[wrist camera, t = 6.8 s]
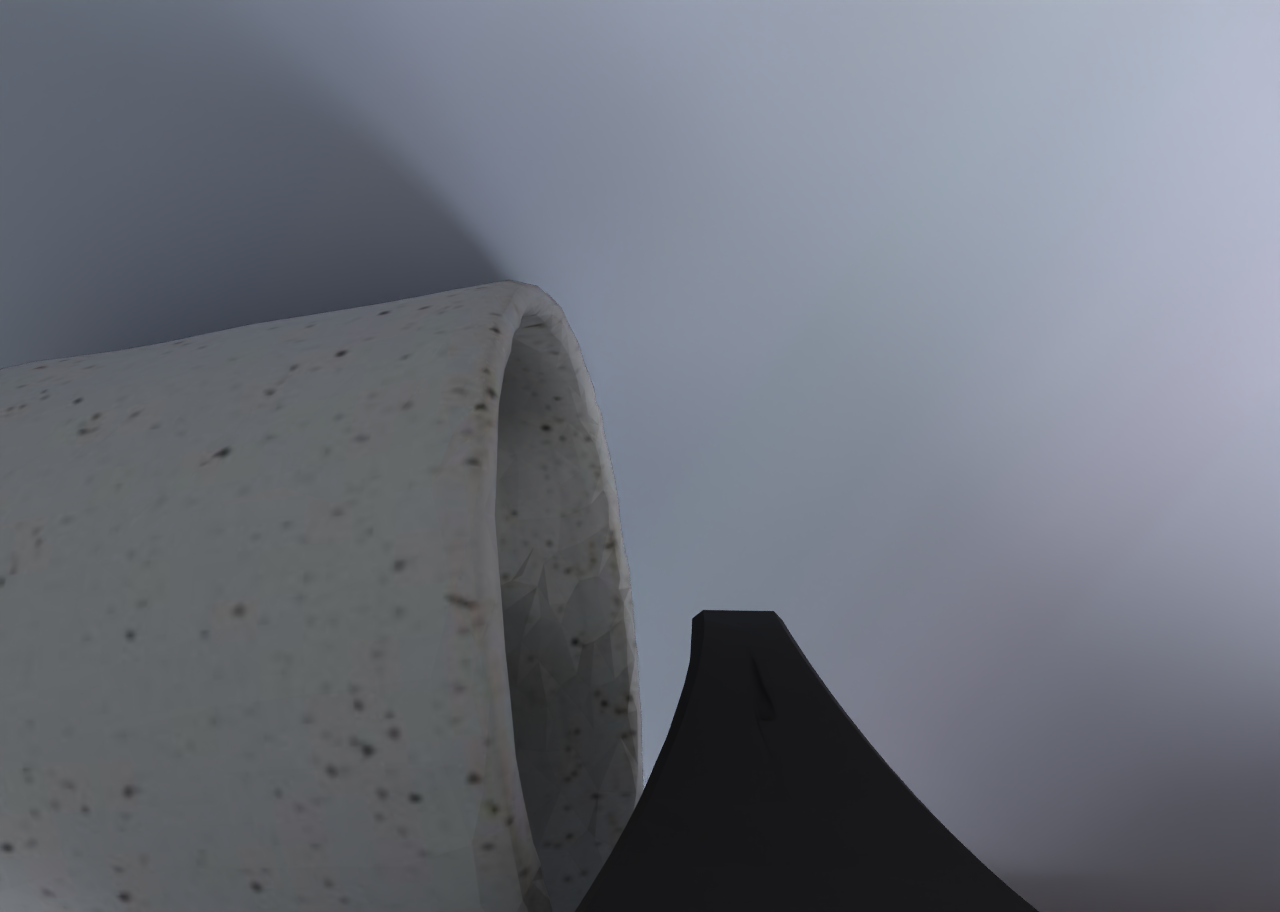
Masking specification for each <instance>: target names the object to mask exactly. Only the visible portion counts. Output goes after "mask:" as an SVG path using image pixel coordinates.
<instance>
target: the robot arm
mask: <svg viewBox="0 0 1280 912" xmlns="http://www.w3.org/2000/svg"><path fill="white" fill-rule="evenodd" d="M575 912H1039V911H1037V910H1036V909H1035V908H1034V907H1032V906H1031V905H1030V904H1029V903H1028V902H1026V901H1025V900H1024V899H1023V898H1021V897H1020V896H1019V895H1018V894H1017V893H1015V892H1014V891H1013V890H1012V889H1011V888H1010V887H1008V886H1007V885H1006V884H1005V883H1004V882H1003V881H1002V880H1001V879H999V878H998V877H997V876H996V875H995V874H994V873H993V872H991V871H990V870H989V869H988V868H987V867H986V866H985V865H984V864H983V863H982V862H981V861H980V860H979V859H978V858H976V857H975V856H974V855H973V854H972V853H971V852H970V851H969V850H968V849H967V848H966V847H965V846H964V845H963V844H962V843H961V842H960V841H959V840H958V839H957V838H956V837H955V836H954V835H953V834H952V833H951V832H950V831H949V830H948V829H947V828H946V827H945V826H944V825H943V824H942V823H941V822H940V821H939V820H938V819H937V818H936V817H935V816H934V815H933V814H932V813H931V812H930V811H929V810H928V809H927V808H926V806H925V805H924V804H923V803H922V802H921V801H920V800H919V799H918V798H917V797H916V796H915V795H914V794H913V792H912V791H911V790H910V789H909V788H908V787H907V786H906V785H905V783H904V782H903V781H902V780H901V779H900V778H899V777H898V776H897V774H896V773H895V772H894V771H893V770H892V769H891V768H890V767H889V765H888V764H887V763H886V762H885V761H884V759H883V758H882V757H881V756H880V755H879V753H878V752H877V751H876V750H875V749H874V747H873V746H872V745H871V744H870V743H869V741H868V740H867V739H866V738H865V736H864V735H863V734H862V732H861V731H860V730H859V729H858V727H857V726H856V725H855V724H854V722H853V721H852V720H851V718H850V717H849V716H848V715H847V713H846V712H845V711H844V709H843V708H842V707H841V706H840V704H839V703H838V702H837V700H836V699H835V698H834V696H833V695H832V694H831V692H830V691H829V690H828V688H827V687H826V685H825V684H824V683H823V681H822V680H821V678H820V677H819V675H818V674H817V673H816V671H815V670H814V668H813V667H812V665H811V664H810V663H809V661H808V660H807V658H806V657H805V655H804V654H803V652H802V651H801V649H800V648H799V646H798V644H797V643H796V641H795V640H794V638H793V637H792V635H791V634H790V632H789V630H788V629H787V627H786V625H785V624H784V622H783V620H782V619H781V618H780V617H779V616H778V615H777V614H776V613H775V612H774V611H727V610H703V611H701V612H700V613H699V614H697V615H696V616H695V617H694V618H692V635H691V654H690V663H689V667H688V671H687V675H686V680H685V684H684V687H683V690H682V693H681V696H680V699H679V702H678V705H677V709H676V712H675V715H674V718H673V721H672V724H671V727H670V729H669V732H668V735H667V737H666V740H665V742H664V745H663V747H662V749H661V752H660V754H659V756H658V759H657V761H656V763H655V766H654V768H653V770H652V773H651V775H650V777H649V780H648V782H647V784H646V786H645V789H644V791H643V793H642V795H641V797H640V799H639V801H638V803H637V805H636V807H635V809H634V811H633V813H632V815H631V817H630V819H629V821H628V823H627V825H626V827H625V828H624V830H623V832H622V834H621V836H620V837H619V839H618V841H617V843H616V845H615V847H614V848H613V850H612V852H611V854H610V855H609V857H608V859H607V861H606V862H605V864H604V866H603V867H602V869H601V870H600V872H599V874H598V875H597V877H596V878H595V880H594V882H593V883H592V885H591V887H590V888H589V890H588V891H587V893H586V895H585V896H584V898H583V900H582V901H581V903H580V904H579V906H578V907H577V909H576V910H575Z"/></svg>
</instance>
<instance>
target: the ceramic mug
mask: <svg viewBox="0 0 1280 912" xmlns="http://www.w3.org/2000/svg"><path fill="white" fill-rule="evenodd" d="M642 793H643V768H642V717H641V706H640V694H639V671H638V653H637V647H636V640H635V626H634V613H633V603H632V594H631V584H630V570H629V565H628V561H627V557H626V553H625V548H624V543H623V536H622V530H621V524H620V515H619V503H618V494H617V489H616V483H615V478H614V473H613V469H612V464H611V460H610V455H609V451H608V447H607V442H606V438H605V433H604V429H603V421H602V414H601V412H600V410H599V408H598V405H597V403H596V399H595V391H594V387H593V384H592V381H591V379H590V376H589V374H588V371H587V368H586V366H585V364H584V360H583V357H582V353H581V350H580V347H579V344H578V341H577V339H576V337H575V335H574V333H573V331H572V330H571V328H570V326H569V324H568V322H567V319H566V317H565V315H564V313H563V311H562V309H561V307H560V306H559V305H558V304H557V303H556V302H555V301H554V300H553V299H552V298H551V297H550V296H549V295H548V294H547V293H545V292H544V291H543V290H542V289H540V288H539V287H538V286H536V285H531V284H526V283H521V282H516V281H511V280H506V281H500V282H494V283H489V284H483V285H477V286H472V287H466V288H460V289H455V290H449V291H444V292H439V293H434V294H429V295H423V296H418V297H413V298H408V299H402V300H397V301H392V302H387V303H381V304H375V305H368V306H362V307H356V308H350V309H343V310H337V311H331V312H325V313H319V314H312V315H306V316H300V317H294V318H288V319H281V320H275V321H269V322H263V323H257V324H250V325H245V326H240V327H236V328H231V329H226V330H221V331H217V332H212V333H207V334H202V335H198V336H193V337H188V338H183V339H178V340H174V341H169V342H164V343H159V344H154V345H148V346H142V347H136V348H130V349H124V350H118V351H111V352H103V353H96V354H88V355H81V356H73V357H66V358H58V359H51V360H43V361H36V362H31V363H26V364H21V365H17V366H12V367H7V368H3V369H0V912H575V910H576V909H577V907H578V906H579V904H580V903H581V901H582V900H583V898H584V896H585V895H586V893H587V891H588V890H589V888H590V887H591V885H592V883H593V882H594V880H595V878H596V877H597V875H598V874H599V872H600V870H601V869H602V867H603V866H604V864H605V862H606V861H607V859H608V857H609V855H610V854H611V852H612V850H613V848H614V847H615V845H616V843H617V841H618V839H619V837H620V836H621V834H622V832H623V830H624V828H625V827H626V825H627V823H628V821H629V819H630V817H631V815H632V813H633V811H634V809H635V807H636V805H637V803H638V801H639V799H640V797H641V795H642Z"/></svg>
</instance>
